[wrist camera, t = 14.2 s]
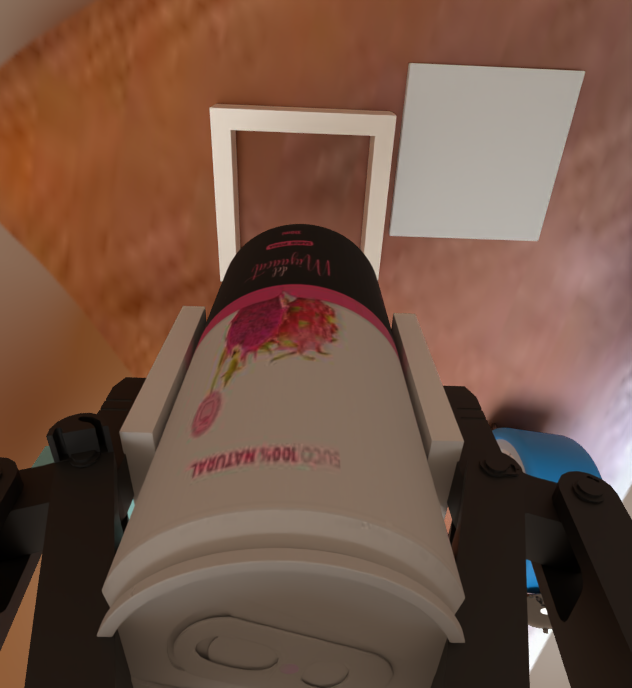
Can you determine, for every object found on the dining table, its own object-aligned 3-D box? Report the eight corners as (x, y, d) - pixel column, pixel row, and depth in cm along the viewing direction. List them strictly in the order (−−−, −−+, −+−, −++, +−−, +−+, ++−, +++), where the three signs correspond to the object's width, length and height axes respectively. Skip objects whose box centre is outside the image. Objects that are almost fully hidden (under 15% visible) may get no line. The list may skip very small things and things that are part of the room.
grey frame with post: (390, 111, 33) (447, 156, 19) (365, 348, 42) (392, 490, 28) (216, 103, 32) (149, 144, 19) (229, 344, 42) (191, 486, 28)
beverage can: (258, 191, 19) (143, 495, 6) (407, 261, 20) (566, 625, 8) (203, 327, 22) (45, 724, 9) (335, 380, 23) (362, 785, 11)
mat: (580, 70, 32) (585, 71, 31) (534, 238, 37) (538, 241, 37) (408, 62, 31) (410, 63, 31) (388, 233, 37) (389, 235, 36)
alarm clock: (495, 395, 45) (571, 536, 32) (560, 404, 45) (659, 547, 32) (449, 496, 51) (496, 646, 38) (506, 503, 52) (571, 654, 39)
